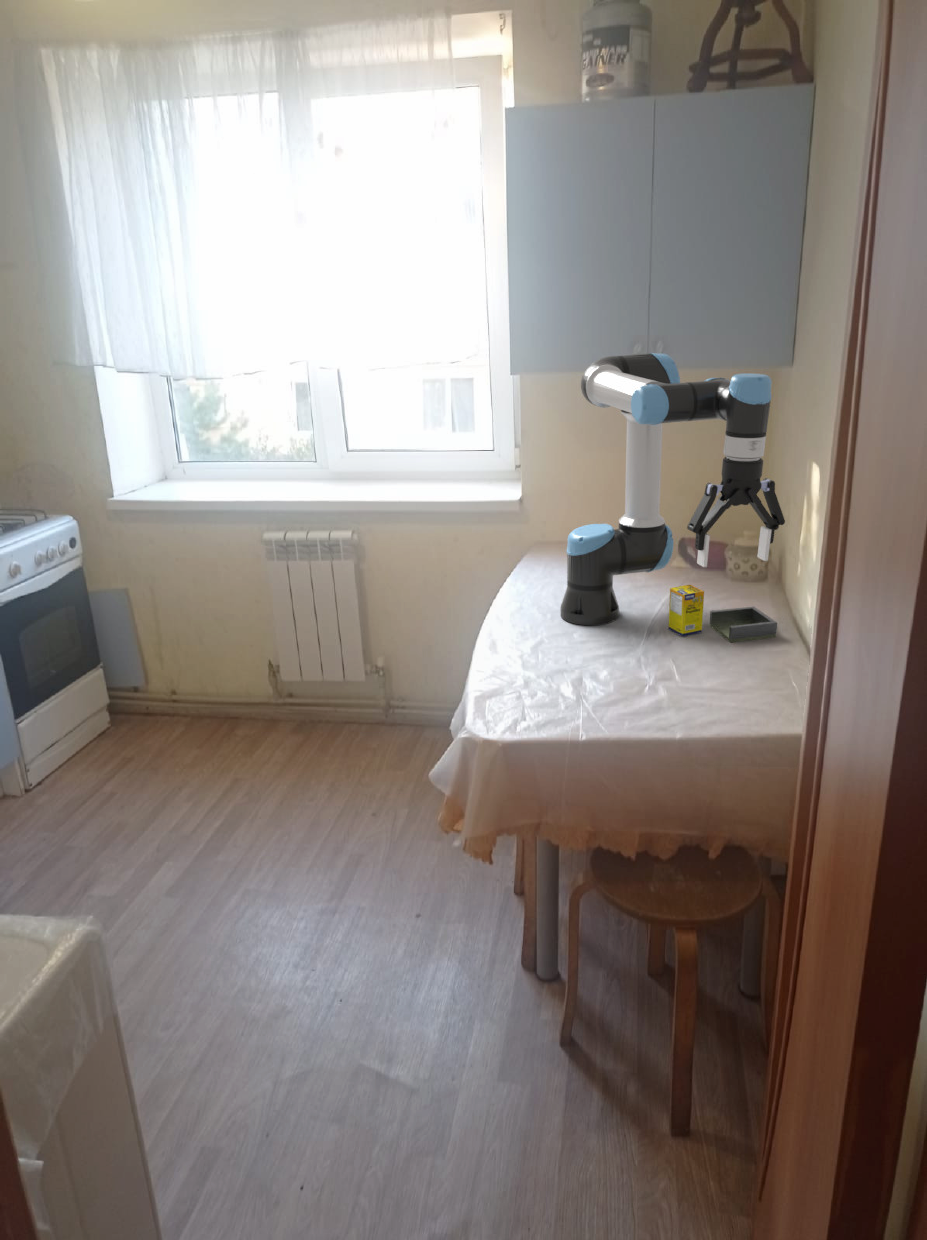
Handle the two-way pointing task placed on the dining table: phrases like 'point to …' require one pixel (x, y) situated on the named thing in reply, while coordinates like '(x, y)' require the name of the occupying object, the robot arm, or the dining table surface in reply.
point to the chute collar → (743, 624)
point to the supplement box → (686, 610)
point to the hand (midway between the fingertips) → (732, 562)
